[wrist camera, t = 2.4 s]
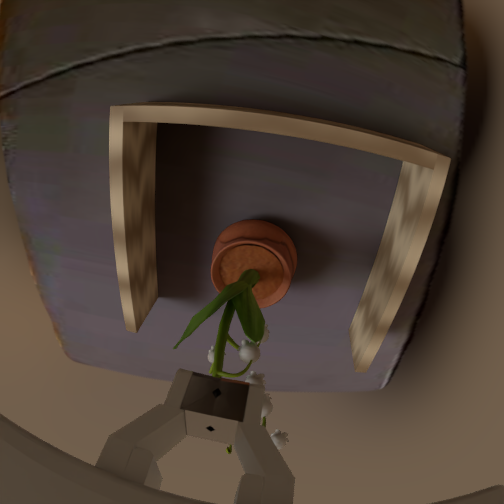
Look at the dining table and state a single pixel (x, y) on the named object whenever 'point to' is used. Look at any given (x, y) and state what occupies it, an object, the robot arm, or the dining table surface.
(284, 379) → the dining table surface
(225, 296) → the potted flower
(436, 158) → the open wooden planter box
